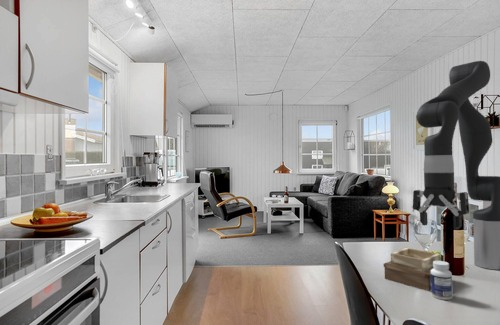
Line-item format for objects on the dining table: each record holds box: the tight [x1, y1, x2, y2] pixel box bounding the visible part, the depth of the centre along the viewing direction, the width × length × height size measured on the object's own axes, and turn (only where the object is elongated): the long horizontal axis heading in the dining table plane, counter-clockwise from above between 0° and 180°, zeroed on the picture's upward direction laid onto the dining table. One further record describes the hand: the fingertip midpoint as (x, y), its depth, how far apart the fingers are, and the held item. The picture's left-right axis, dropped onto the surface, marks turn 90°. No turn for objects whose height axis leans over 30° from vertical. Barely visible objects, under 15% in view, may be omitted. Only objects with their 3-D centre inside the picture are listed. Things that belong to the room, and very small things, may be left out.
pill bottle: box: [430, 260, 454, 301], centre depth 93 cm, size 5×5×10 cm
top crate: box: [390, 247, 441, 272], centre depth 106 cm, size 11×11×4 cm
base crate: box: [383, 260, 431, 292], centre depth 106 cm, size 14×14×5 cm
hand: (440, 226), depth 93 cm, fingers open, 8 cm apart
